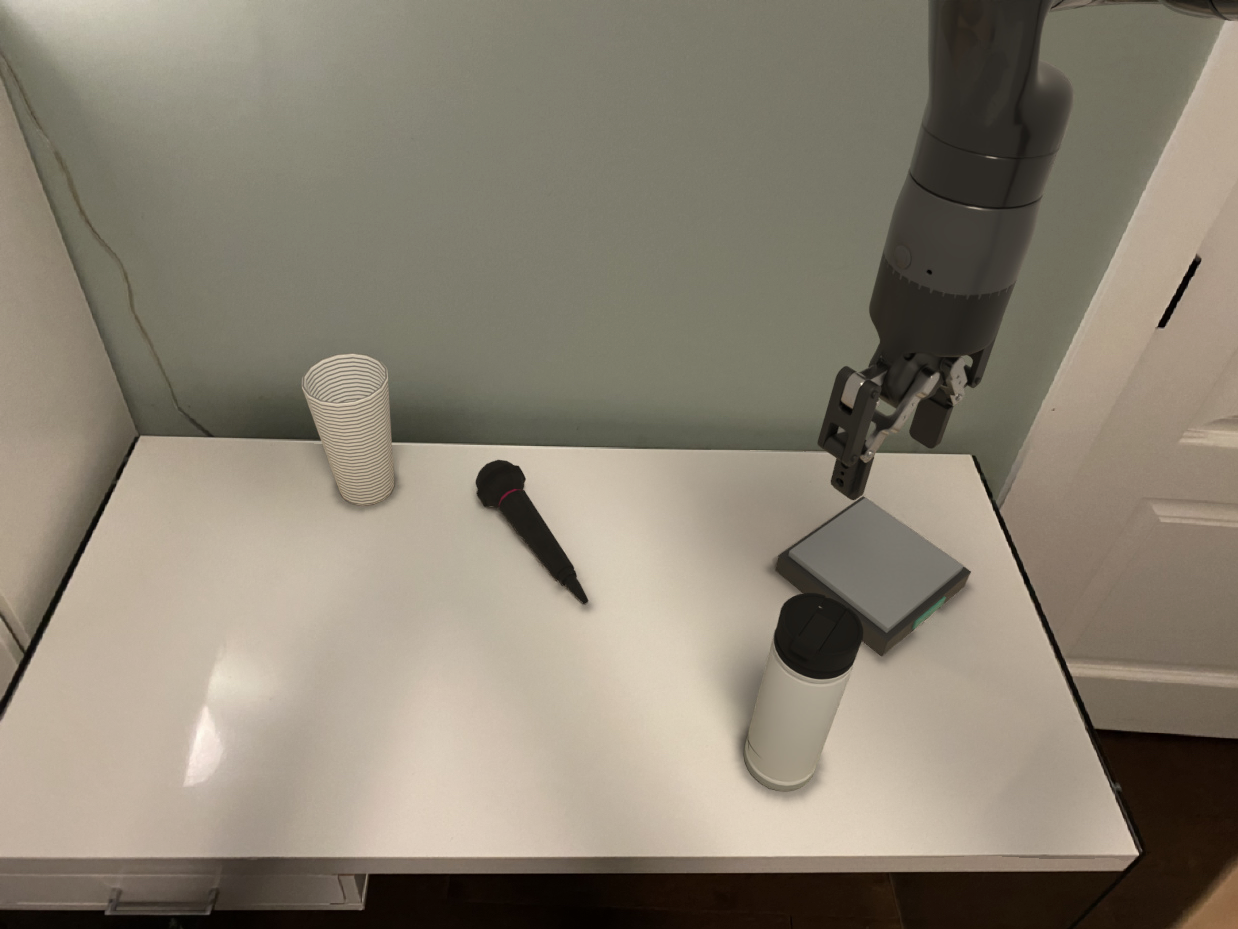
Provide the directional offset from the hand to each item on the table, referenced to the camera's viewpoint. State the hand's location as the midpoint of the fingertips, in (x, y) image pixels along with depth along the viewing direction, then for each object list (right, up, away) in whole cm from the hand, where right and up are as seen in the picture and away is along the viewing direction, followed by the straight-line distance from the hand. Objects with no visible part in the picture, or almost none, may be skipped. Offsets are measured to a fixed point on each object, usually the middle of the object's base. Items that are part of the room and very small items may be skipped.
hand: (885, 465), depth 63 cm
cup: (-47, -3, +40) cm, 61 cm away
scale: (+8, -12, +33) cm, 36 cm away
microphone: (-28, -8, +34) cm, 45 cm away
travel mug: (-4, -26, +17) cm, 31 cm away
